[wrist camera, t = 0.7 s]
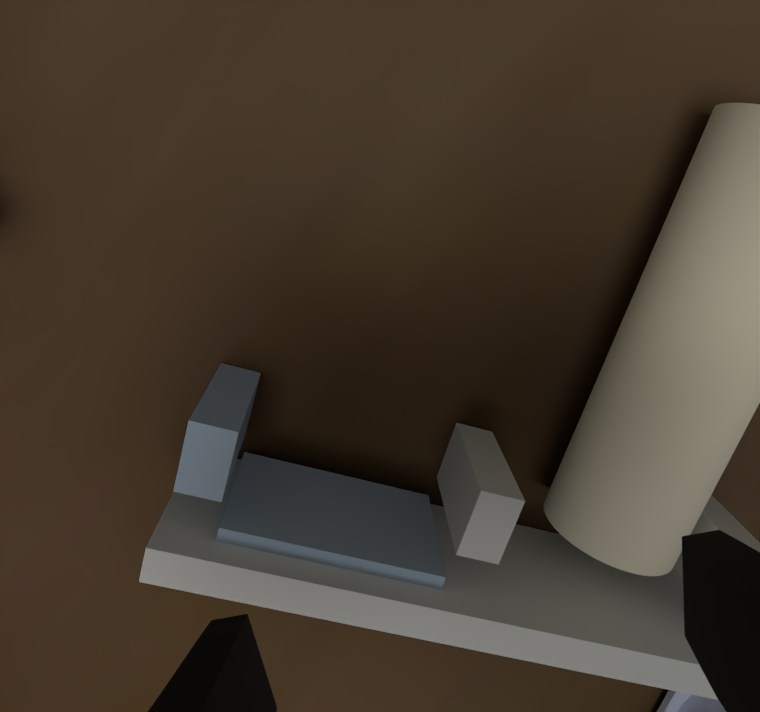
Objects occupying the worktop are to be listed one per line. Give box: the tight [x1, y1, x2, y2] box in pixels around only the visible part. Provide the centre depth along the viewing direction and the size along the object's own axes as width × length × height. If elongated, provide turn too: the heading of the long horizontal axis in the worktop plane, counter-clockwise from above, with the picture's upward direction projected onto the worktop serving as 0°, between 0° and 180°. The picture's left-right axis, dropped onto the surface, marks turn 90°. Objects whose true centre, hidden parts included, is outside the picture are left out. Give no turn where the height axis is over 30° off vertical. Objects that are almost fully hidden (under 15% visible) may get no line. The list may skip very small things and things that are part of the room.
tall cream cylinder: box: [543, 103, 760, 576], centre depth 17 cm, size 12×4×4 cm, turn 164°
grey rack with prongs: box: [139, 363, 760, 700], centre depth 18 cm, size 16×4×5 cm, turn 74°
